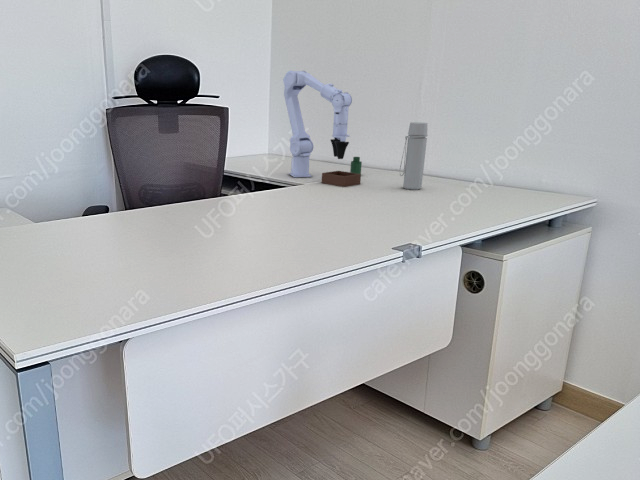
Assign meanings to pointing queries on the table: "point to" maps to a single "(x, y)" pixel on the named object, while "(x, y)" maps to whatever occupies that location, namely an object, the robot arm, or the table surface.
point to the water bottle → (415, 155)
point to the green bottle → (356, 165)
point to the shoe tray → (341, 178)
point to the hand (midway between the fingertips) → (338, 157)
